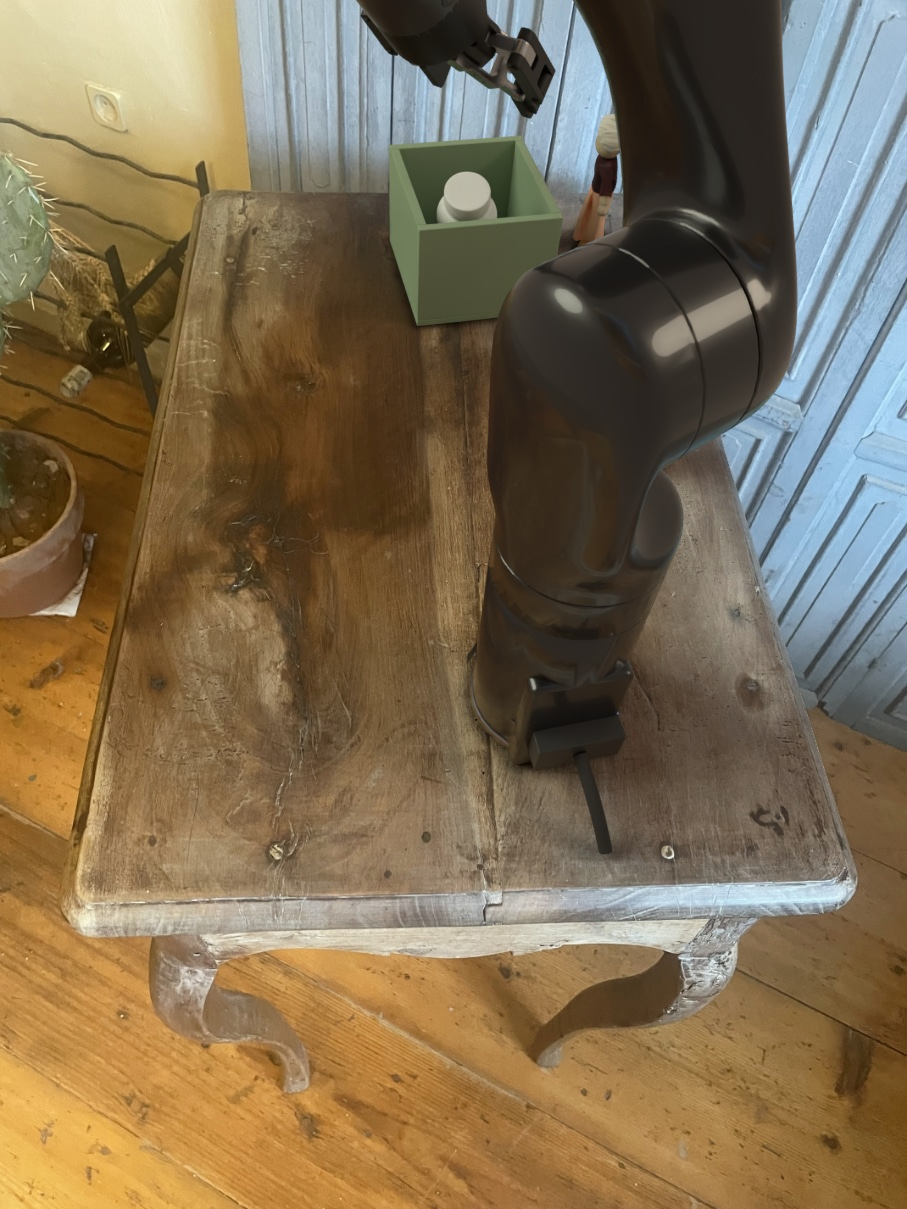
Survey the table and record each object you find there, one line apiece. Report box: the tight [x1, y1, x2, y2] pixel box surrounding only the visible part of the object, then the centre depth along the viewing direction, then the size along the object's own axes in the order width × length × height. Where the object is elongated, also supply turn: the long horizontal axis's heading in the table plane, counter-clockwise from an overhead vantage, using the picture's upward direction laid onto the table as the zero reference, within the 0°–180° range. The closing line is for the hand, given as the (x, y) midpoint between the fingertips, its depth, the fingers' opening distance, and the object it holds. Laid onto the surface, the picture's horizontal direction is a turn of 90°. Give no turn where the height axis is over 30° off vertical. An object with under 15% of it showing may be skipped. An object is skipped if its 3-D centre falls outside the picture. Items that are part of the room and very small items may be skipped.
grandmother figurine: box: [572, 113, 620, 248], centre depth 83 cm, size 8×4×13 cm, turn 3°
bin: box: [388, 135, 564, 327], centre depth 80 cm, size 14×13×10 cm
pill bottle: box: [436, 172, 497, 224], centre depth 78 cm, size 5×5×10 cm
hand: (487, 90), depth 71 cm, fingers open, 8 cm apart
